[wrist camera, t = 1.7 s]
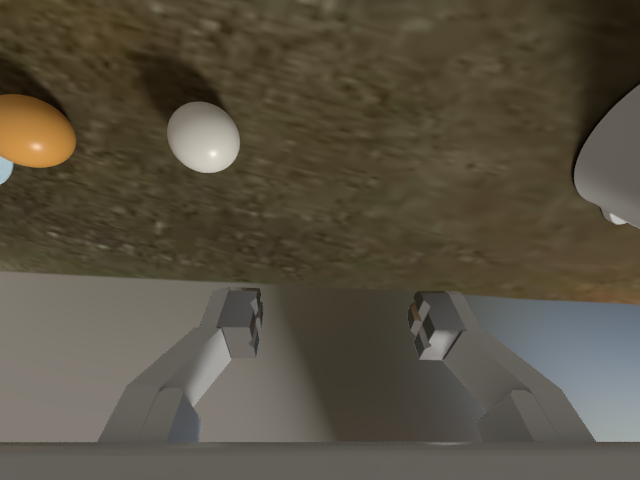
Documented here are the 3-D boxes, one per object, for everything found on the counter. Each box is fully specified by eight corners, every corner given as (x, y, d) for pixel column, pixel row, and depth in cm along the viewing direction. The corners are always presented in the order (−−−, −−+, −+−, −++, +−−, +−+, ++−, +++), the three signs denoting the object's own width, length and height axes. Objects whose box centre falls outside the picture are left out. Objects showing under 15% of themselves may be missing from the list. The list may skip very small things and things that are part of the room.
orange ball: (57, 80, 22) (-6, 94, 18) (104, 146, 25) (61, 171, 21) (1, 95, 23) (-73, 113, 18) (54, 158, 26) (2, 184, 22)
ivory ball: (231, 87, 22) (210, 103, 18) (254, 151, 26) (242, 177, 22) (170, 102, 23) (137, 121, 19) (201, 162, 26) (179, 190, 22)
